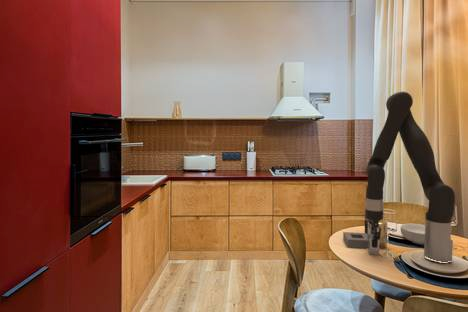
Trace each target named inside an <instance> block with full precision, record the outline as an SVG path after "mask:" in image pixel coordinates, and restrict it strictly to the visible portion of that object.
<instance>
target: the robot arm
mask: <svg viewBox="0 0 468 312" xmlns="http://www.w3.org/2000/svg"><path fill="white" fill-rule="evenodd" d="M413 100H414V99H413V97H412V95H411V94H410V93H409V92H406V91H398V92H395V93H393V94H391V95H390V96H389V97H388V98H387V100H386V103H385V106H386V109H387V111H388V113H387V116H386V117H387V118H386V120H385V122H384V126H383V127H382V130H381V131H380V133H379V135H378V137H377V139H376V143H375V146H374V148H373V151H372V154H371V157H370V159H369V161H368V163H367V166H366V167H365V175H366V176H367V186H366V187H365V188H366V189H365V199H366V201H365V200H364V219H365V218H366V219H369V220H367V229H368V226H369V227H370V228H371V234H372V247H373V248H377V247H378V240H380V234H381V228H379V227H380V224H379V221H380V220H381V221H384V206H385V205H384V186H385V180H386V171H385V166H386V163H387V161H388V160H389V159H390V157H391V154H392V151H393V149H394V146H395V143H396V141H397V136H398V134H399V136H400V139H401V141H402V143H403V147H404V149H405V151H406V153H407V155H408V158H409V160H410V162H411V164H412V166H413V168H414V169H415V171H416V173H417V175H418V178H419V180H420V184H421V187H422V190H423V193H424V196H425V198H426V199H427V200H428V206H427V207H428V209H427V211H426V213H425V216H424V218H425V220H424V221H425V222H424V225H425V243H424V245H423V247H424V249H423V256H424V255H425V256H426V257H428V258H430V259H433V260H436V261H441V262H448V261H452V262H453V251H454V250H453V249H454V247H453V246H454V245H453V244H454V240H452V237H451V236H452V220H453V219H452V218H453V217H454V213H455V203H456V195H455V194H456V193H455V191H454V190H453V188H452V187H451V186H449V185H447V184H445V182H444V181H443V179H442V178H441V176H440V174H439V172H438V170H437V167H436V158H435V154H434V153H435V152H434V150H433V147H432V145H431V143H430V141H429V139H428V137H427V135H426V134H425V132H424V131H423V130H422V128H421V127H420V126H419V125H418V123H417V122H416V120H415V118H414V116H413V113H412V110H411V108H412V107H413V103H414V101H413ZM372 230H373V231H374V232H373V231H372ZM376 235H377V237H375V236H376Z"/></svg>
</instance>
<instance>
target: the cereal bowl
mask: <svg viewBox="0 0 468 312" xmlns="http://www.w3.org/2000/svg"><path fill="white" fill-rule="evenodd" d="M400 234H401V235H402V236H403V237H404V238H405V239H406V240H408V241H410V242H411V241H412V242H411V243H413V244H417V245H423V246H424V243H425V224H420V223H403V224H401V225H400Z"/></svg>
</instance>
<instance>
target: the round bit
mask: <svg viewBox="0 0 468 312" xmlns="http://www.w3.org/2000/svg"><path fill="white" fill-rule="evenodd" d="M379 224H380V227H379V228H381V234H380V240H379V250H386V249H387V248H388V246H387V245H388V222H387V221H384V220H381V221H379Z"/></svg>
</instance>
